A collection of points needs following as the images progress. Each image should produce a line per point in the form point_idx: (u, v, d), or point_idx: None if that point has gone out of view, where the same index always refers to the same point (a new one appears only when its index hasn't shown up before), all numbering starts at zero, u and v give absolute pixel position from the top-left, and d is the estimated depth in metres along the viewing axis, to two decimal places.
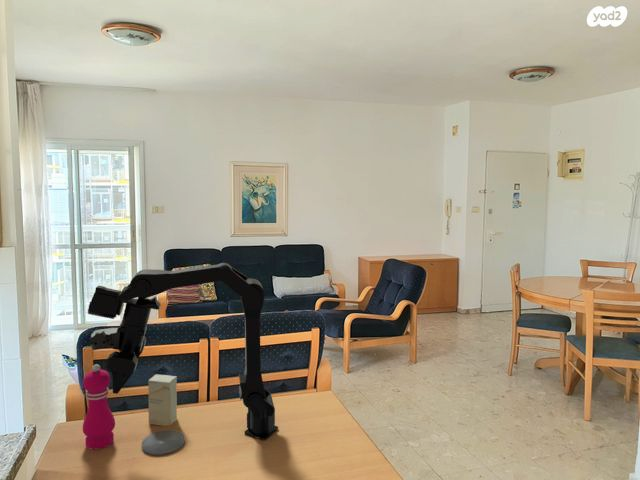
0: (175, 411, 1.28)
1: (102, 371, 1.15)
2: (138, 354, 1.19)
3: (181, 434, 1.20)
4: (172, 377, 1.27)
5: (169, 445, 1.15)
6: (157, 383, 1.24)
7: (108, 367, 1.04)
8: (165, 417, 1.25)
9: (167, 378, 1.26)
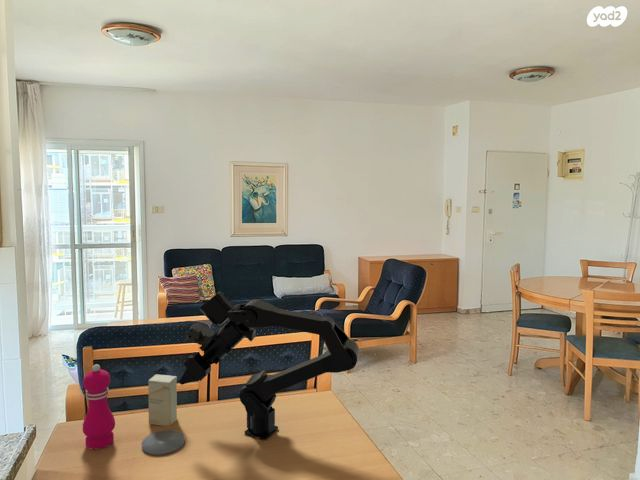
0: (175, 411, 1.28)
1: (102, 371, 1.15)
2: None
3: (181, 434, 1.20)
4: (172, 377, 1.27)
5: (169, 445, 1.15)
6: (157, 383, 1.24)
7: (185, 364, 1.14)
8: (165, 417, 1.25)
9: (167, 378, 1.26)
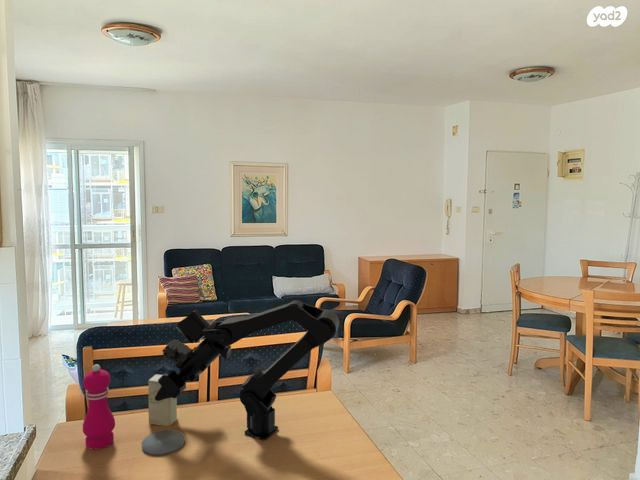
0: (175, 411, 1.28)
1: (102, 371, 1.15)
2: None
3: (181, 434, 1.20)
4: None
5: (169, 445, 1.15)
6: (157, 383, 1.24)
7: (160, 382, 1.16)
8: (165, 417, 1.25)
9: None
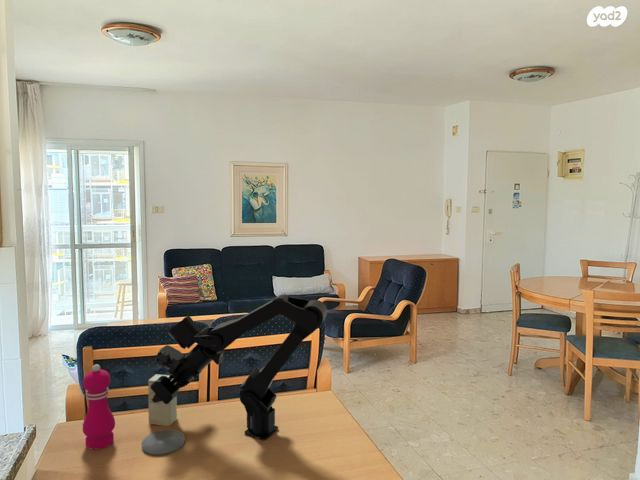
0: (175, 411, 1.28)
1: (102, 371, 1.15)
2: (183, 385, 1.29)
3: (181, 434, 1.20)
4: None
5: (169, 445, 1.15)
6: None
7: (152, 388, 1.17)
8: (165, 417, 1.25)
9: None
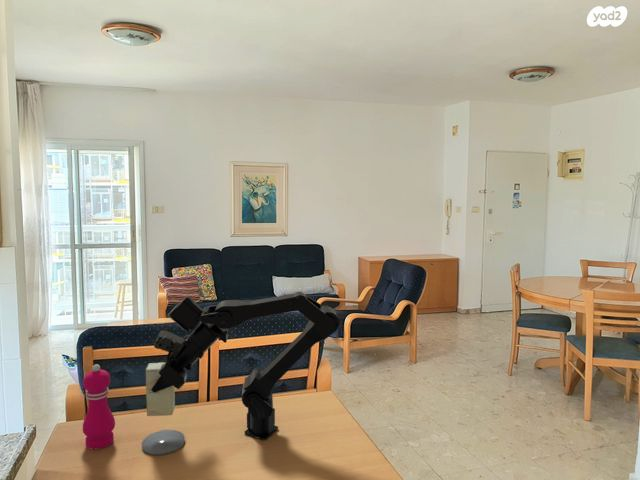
0: (174, 399, 1.21)
1: (102, 371, 1.15)
2: None
3: (181, 434, 1.20)
4: None
5: (169, 445, 1.15)
6: (157, 371, 1.16)
7: (162, 374, 1.09)
8: (167, 406, 1.17)
9: None
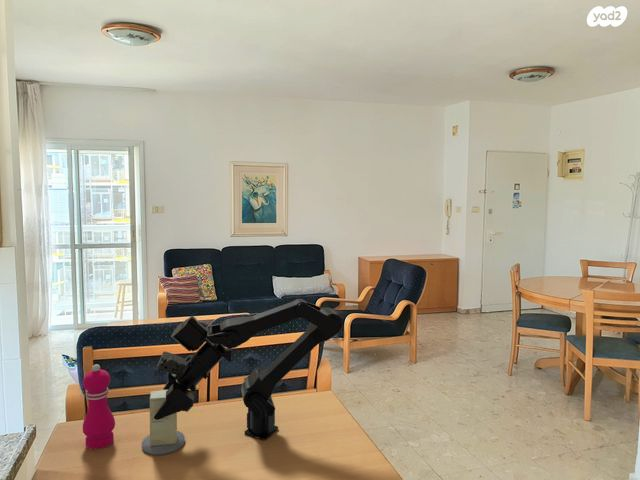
0: None
1: (102, 371, 1.15)
2: None
3: (181, 434, 1.20)
4: None
5: (169, 445, 1.15)
6: (161, 399, 1.13)
7: (170, 397, 1.07)
8: (171, 434, 1.15)
9: None
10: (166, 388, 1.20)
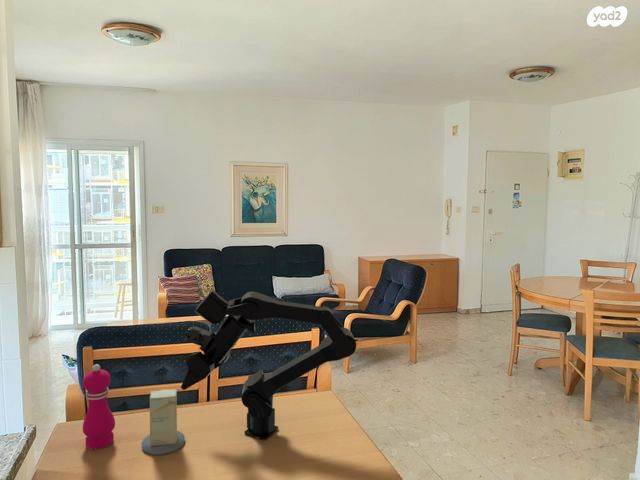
0: None
1: (102, 371, 1.15)
2: (217, 365, 1.24)
3: (181, 434, 1.20)
4: (173, 390, 1.17)
5: (169, 445, 1.15)
6: (162, 399, 1.14)
7: (188, 362, 1.10)
8: (171, 434, 1.15)
9: (169, 392, 1.16)
10: None
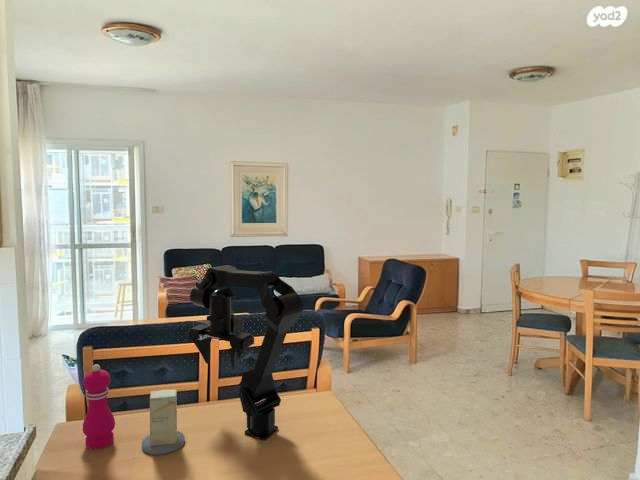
0: None
1: (102, 371, 1.15)
2: None
3: (181, 434, 1.20)
4: (173, 390, 1.17)
5: (169, 445, 1.15)
6: (161, 399, 1.14)
7: None
8: (171, 434, 1.15)
9: (169, 392, 1.16)
10: None
